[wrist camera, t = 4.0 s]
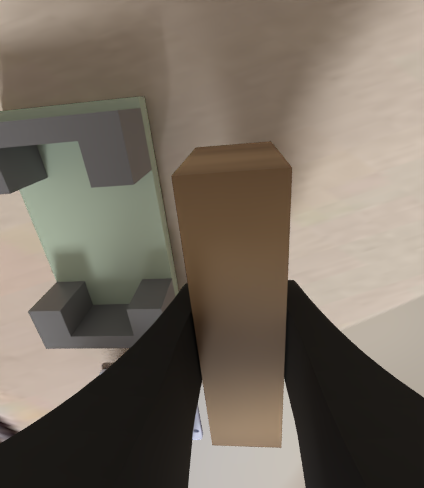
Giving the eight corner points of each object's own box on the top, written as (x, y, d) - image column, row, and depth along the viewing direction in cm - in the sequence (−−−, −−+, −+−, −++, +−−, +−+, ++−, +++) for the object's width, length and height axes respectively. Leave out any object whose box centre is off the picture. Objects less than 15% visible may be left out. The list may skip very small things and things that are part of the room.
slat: (269, 357, 14) (281, 447, 10) (218, 357, 14) (212, 445, 10) (270, 141, 9) (291, 167, 6) (195, 147, 10) (170, 176, 6)
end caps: (178, 314, 20) (169, 347, 17) (70, 316, 21) (46, 348, 18) (140, 108, 14) (117, 110, 11) (-8, 122, 15) (-62, 128, 12)
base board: (181, 310, 21) (179, 319, 20) (79, 312, 22) (72, 321, 21) (144, 96, 14) (138, 96, 14) (2, 111, 15) (-12, 112, 14)
